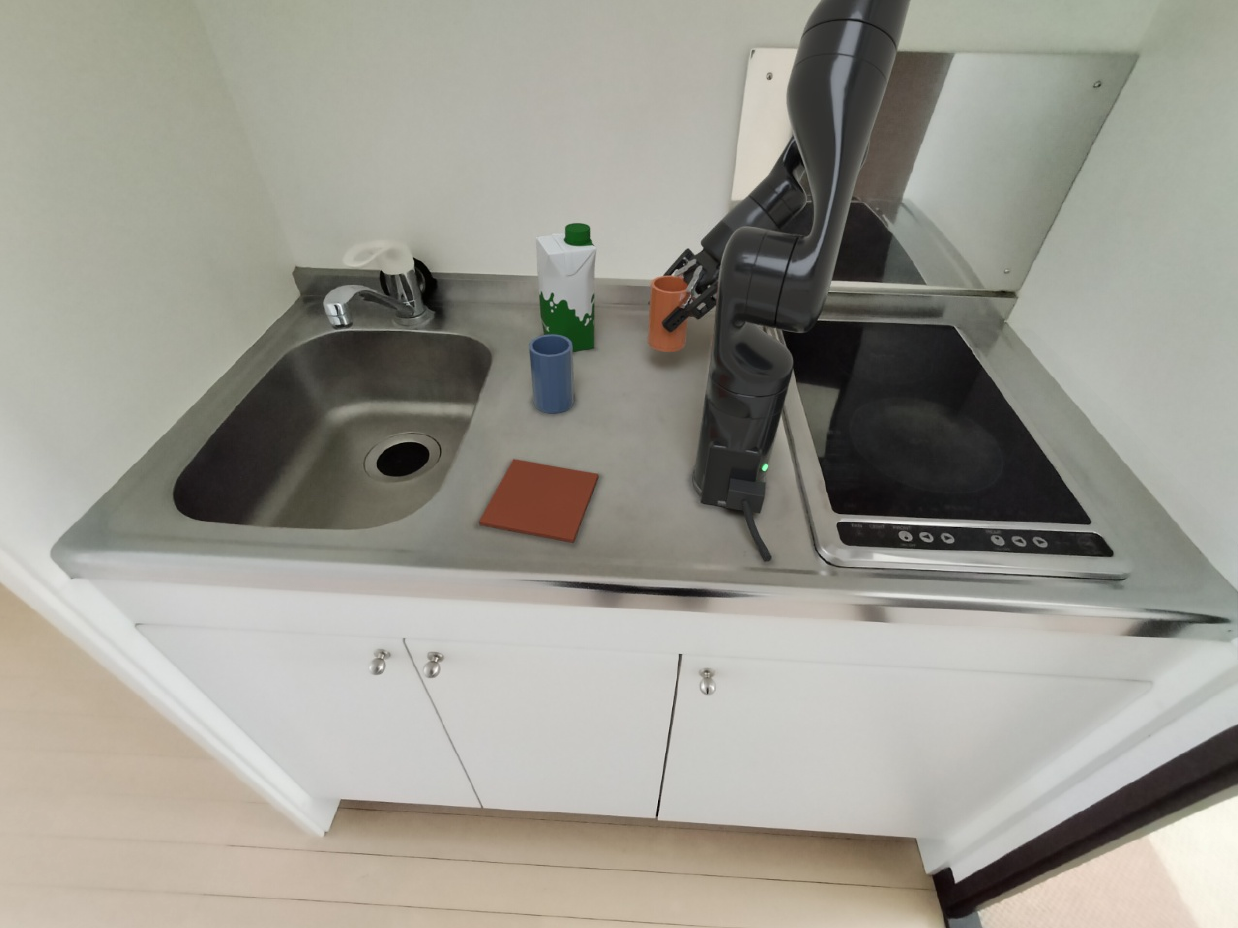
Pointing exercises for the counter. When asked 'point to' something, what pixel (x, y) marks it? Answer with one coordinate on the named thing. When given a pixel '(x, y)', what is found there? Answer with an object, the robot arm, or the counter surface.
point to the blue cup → (552, 373)
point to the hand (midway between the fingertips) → (658, 317)
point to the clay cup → (666, 313)
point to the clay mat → (540, 500)
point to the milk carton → (567, 284)
